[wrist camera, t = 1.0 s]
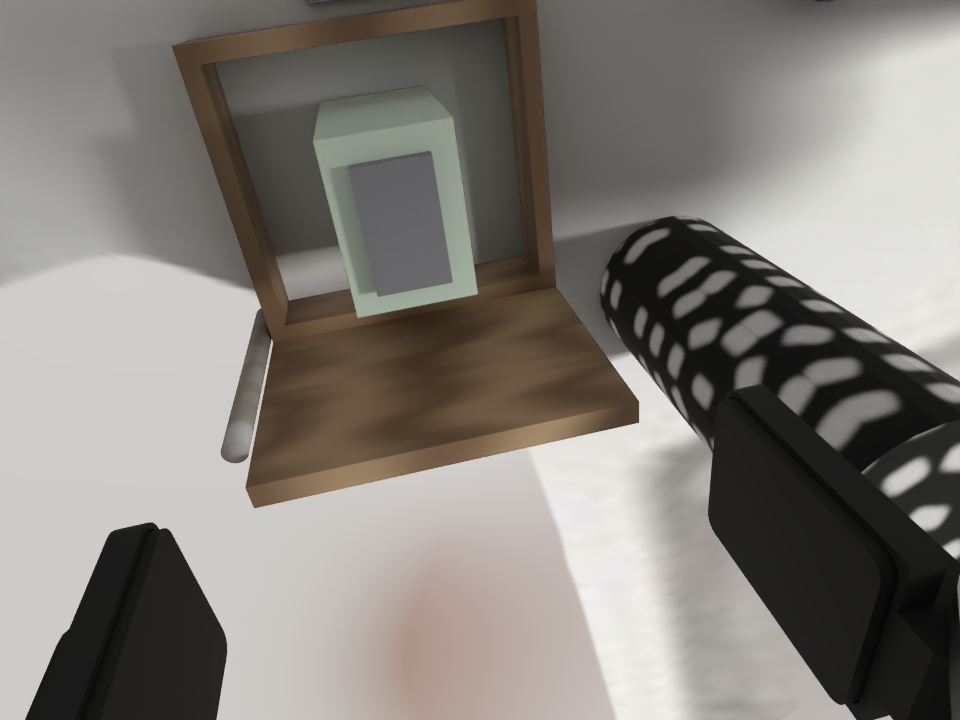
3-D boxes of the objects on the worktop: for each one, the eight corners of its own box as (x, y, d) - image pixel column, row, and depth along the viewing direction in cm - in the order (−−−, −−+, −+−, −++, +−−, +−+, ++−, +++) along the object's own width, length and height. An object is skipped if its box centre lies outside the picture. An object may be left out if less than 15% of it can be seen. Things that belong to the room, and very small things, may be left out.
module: (424, 85, 30) (455, 120, 22) (446, 225, 34) (480, 300, 26) (319, 102, 30) (312, 144, 22) (353, 243, 33) (358, 324, 25)
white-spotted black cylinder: (750, 220, 37) (1094, 415, 20) (707, 346, 41) (965, 596, 24) (618, 210, 35) (875, 415, 18) (587, 342, 39) (774, 612, 22)
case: (518, -10, 29) (641, -9, 17) (542, 282, 37) (638, 422, 25) (161, 44, 27) (25, 86, 16) (263, 336, 35) (223, 515, 23)
